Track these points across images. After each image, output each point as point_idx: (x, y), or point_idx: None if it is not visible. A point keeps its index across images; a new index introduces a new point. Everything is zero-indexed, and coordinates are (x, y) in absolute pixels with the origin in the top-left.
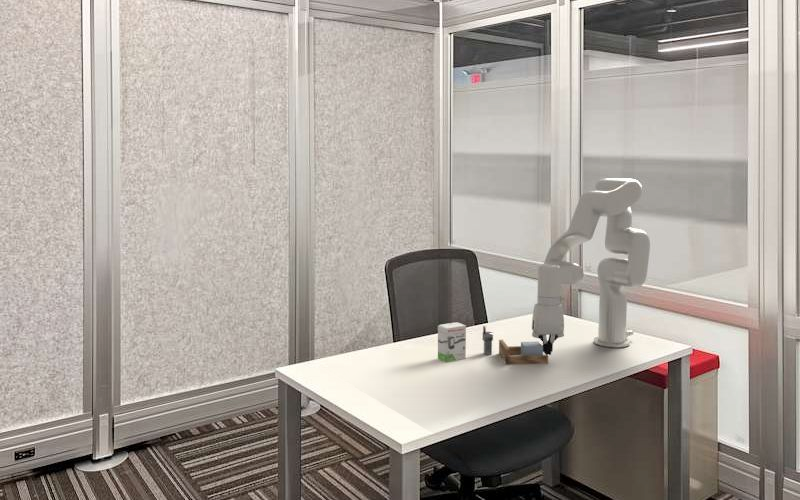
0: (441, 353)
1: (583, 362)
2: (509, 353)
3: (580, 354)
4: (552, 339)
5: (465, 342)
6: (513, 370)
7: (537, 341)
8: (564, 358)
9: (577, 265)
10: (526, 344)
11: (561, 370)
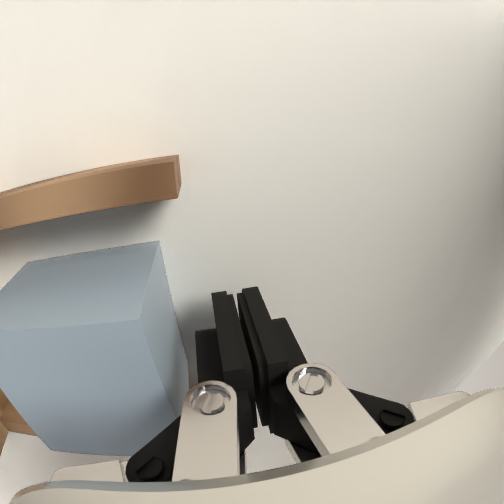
0: None
1: (412, 347)
2: (3, 444)
3: (464, 202)
4: (314, 457)
5: None
6: (64, 455)
7: (128, 320)
8: (354, 297)
9: None
10: (37, 411)
11: (265, 454)
